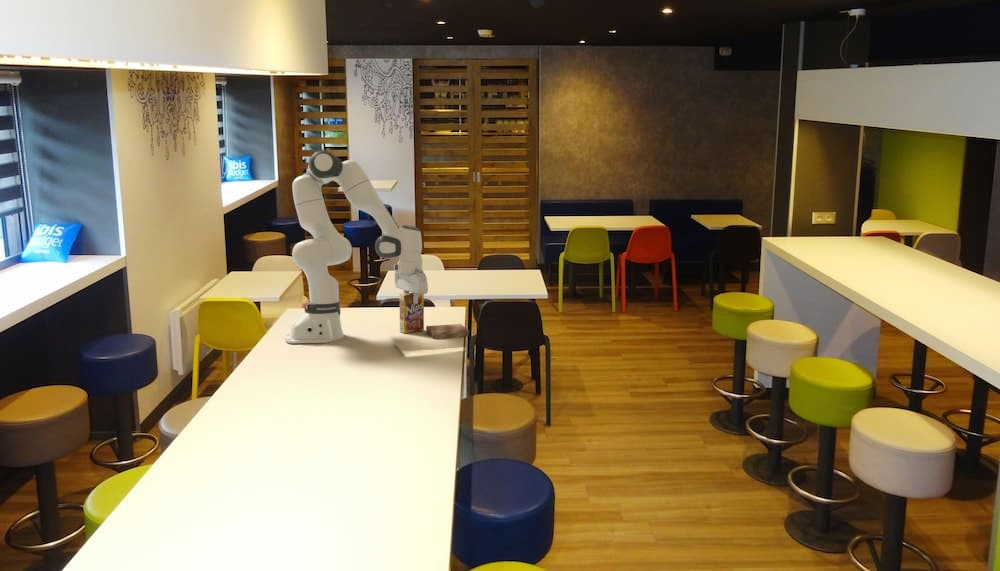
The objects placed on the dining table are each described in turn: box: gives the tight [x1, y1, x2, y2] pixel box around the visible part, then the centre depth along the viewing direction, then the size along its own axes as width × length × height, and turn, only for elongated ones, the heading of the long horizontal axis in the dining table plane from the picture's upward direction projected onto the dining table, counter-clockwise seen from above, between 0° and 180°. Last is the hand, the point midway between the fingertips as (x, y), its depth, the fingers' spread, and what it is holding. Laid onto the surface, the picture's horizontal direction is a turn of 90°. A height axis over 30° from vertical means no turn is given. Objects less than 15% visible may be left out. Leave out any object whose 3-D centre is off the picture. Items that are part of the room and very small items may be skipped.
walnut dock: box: [425, 323, 470, 340], centre depth 340 cm, size 14×12×2 cm
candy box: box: [399, 292, 425, 334], centre depth 344 cm, size 9×4×15 cm, turn 123°
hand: (411, 302), depth 344 cm, fingers closed on candy box, 4 cm apart
